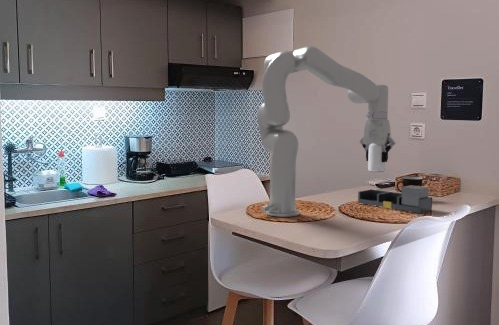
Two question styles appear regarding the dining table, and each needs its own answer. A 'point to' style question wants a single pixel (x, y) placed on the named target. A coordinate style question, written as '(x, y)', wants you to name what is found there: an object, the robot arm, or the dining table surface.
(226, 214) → the dining table surface
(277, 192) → the robot arm
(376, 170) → the can
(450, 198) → the dining table surface
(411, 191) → the rack
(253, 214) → the dining table surface
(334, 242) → the dining table surface
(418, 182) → the coffee mug
